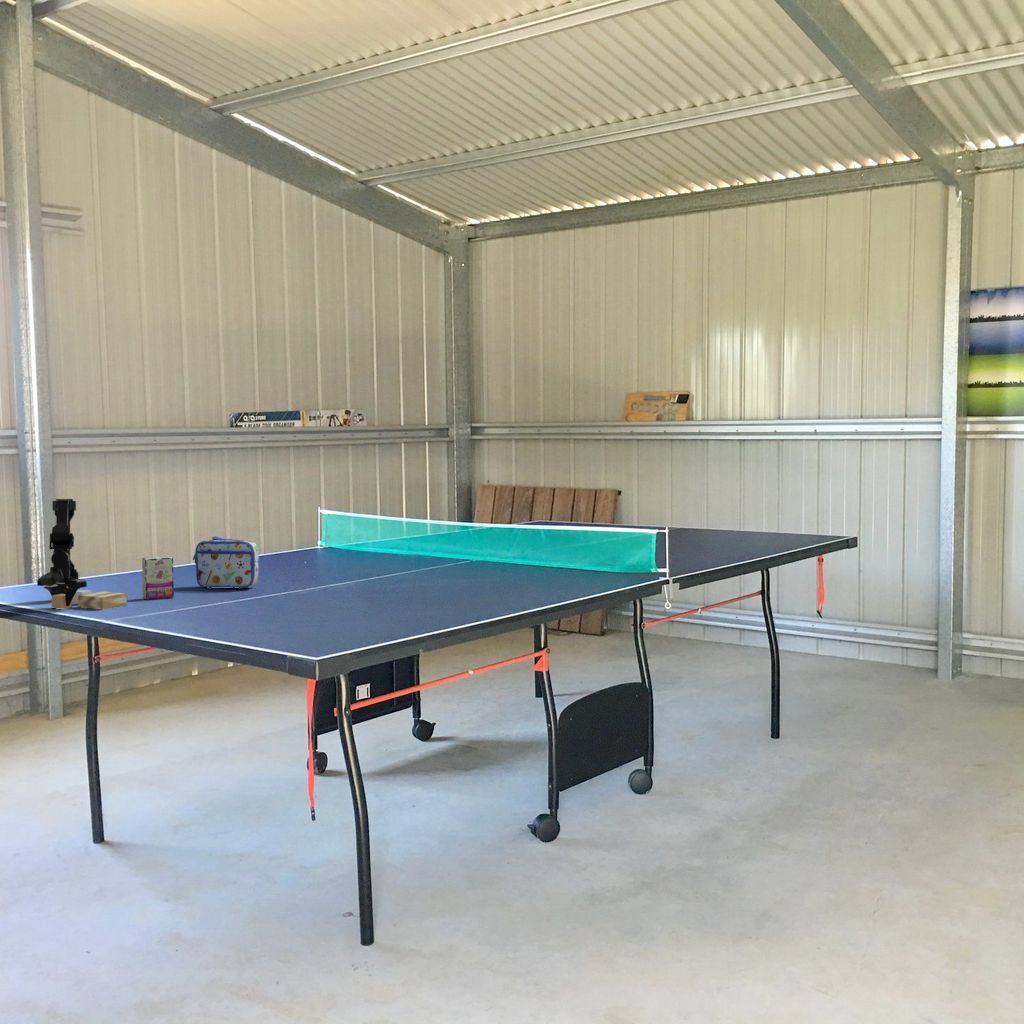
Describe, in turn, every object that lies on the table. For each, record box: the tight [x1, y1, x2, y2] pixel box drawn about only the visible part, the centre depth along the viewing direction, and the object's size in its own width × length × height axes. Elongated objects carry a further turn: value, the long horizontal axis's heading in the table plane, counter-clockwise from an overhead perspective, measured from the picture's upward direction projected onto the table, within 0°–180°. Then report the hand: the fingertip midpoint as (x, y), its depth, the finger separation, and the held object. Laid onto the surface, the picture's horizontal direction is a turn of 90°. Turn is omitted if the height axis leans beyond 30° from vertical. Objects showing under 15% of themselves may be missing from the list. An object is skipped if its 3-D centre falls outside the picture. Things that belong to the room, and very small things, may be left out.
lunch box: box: [192, 535, 260, 589], centre depth 459 cm, size 28×10×22 cm, turn 84°
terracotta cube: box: [51, 594, 73, 609], centre depth 399 cm, size 5×5×5 cm
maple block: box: [78, 590, 128, 611], centre depth 404 cm, size 12×12×5 cm
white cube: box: [72, 589, 93, 605], centre depth 410 cm, size 5×5×5 cm
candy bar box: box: [141, 556, 175, 600], centre depth 426 cm, size 11×5×16 cm, turn 126°
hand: (62, 605), depth 399 cm, fingers closed on terracotta cube, 5 cm apart
